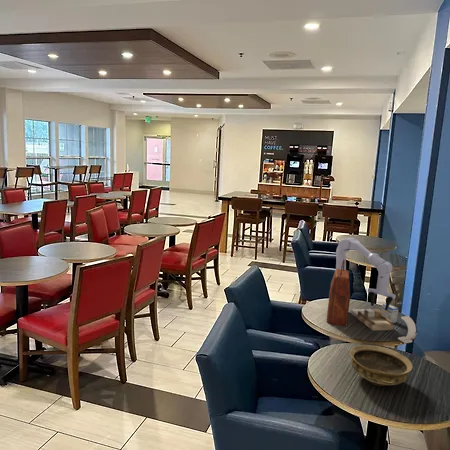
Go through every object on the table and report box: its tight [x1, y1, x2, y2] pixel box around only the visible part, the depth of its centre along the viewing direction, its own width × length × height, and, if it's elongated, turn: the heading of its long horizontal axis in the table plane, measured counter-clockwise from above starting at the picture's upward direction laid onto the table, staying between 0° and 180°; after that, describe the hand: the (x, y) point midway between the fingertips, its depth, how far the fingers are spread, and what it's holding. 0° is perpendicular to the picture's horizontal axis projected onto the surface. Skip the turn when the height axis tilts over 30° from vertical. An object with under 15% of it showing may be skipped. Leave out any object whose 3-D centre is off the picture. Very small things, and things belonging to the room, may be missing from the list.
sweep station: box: [349, 309, 394, 331], centre depth 228 cm, size 24×12×4 cm, turn 11°
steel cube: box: [363, 308, 375, 319], centre depth 226 cm, size 4×4×4 cm
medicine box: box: [381, 303, 399, 324], centre depth 231 cm, size 8×4×9 cm, turn 25°
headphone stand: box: [397, 315, 417, 344], centre depth 205 cm, size 5×6×12 cm
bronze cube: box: [371, 308, 382, 319], centre depth 227 cm, size 4×4×4 cm
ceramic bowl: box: [349, 344, 413, 387], centre depth 165 cm, size 30×24×10 cm
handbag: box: [326, 259, 351, 327], centre depth 226 cm, size 10×19×35 cm, turn 165°
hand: (379, 307), depth 223 cm, fingers open, 7 cm apart
